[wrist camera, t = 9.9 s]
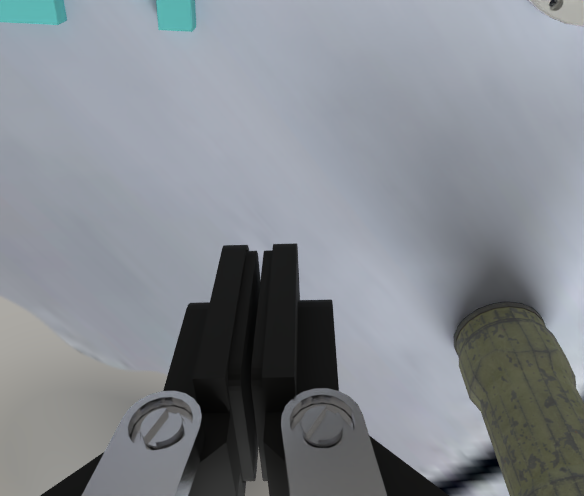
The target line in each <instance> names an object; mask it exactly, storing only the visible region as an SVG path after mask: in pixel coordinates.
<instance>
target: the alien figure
mask: <svg viewBox="0 0 584 496" xmlns="http://www.w3.org/2000/svg"><path fill="white" fill-rule="evenodd" d="M156 5H157V16H158V27H159V30H171V31H191V32H192V31H193V30H194V29H195V28H196V13H195V0H156ZM65 21H67V17H66V12H65V6H64V1H63V0H0V22H10V23H31V24H51V25H59V24H61V23H63V22H65Z"/></svg>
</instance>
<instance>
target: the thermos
mask: <svg viewBox="0 0 584 496" xmlns="http://www.w3.org/2000/svg"><path fill="white" fill-rule="evenodd" d="M454 347H455V350H456V352H457V354H458V357H459V368H460V371H461V374H462V377H463V380H464V383H465V386H466V389H467V392H468V395H469V398H470V400H471V401H472V402H473V403H474V404H475V405H476V406H477V408H478V409H479V410H480V411H481V413H482V416H483V419H484V422H485V425H486V428H487V431H488V434H489V436H490V439H491V442H492V445H493V448H494V451H495V454H496V457H497V460H498V462H499V465H500V468H501V471H502V474H503V477H504V480H505V483H506V486H507V489H508V491H509V494H510V496H584V402H583V400H582V398H581V396H580V395H579V393H578V391H577V389H576V381H575V375H574V373H573V371H572V368H571V366H570V364H569V362H568V360H567V358H566V356H565V354H564V352H563V350H562V349H561V347H560V345H559V344H558V342H557V340H556V338H555V337H554V335H553V334H552V333H551V332H550V331H549V330H548V329H547V328H546V326H545V324H544V321H543V319H542V317H541V316H540V315H539V314H538V313H537V312H536V311H535V310H534V309H533V308H531V307H528V306H526V305H524V304H521V303H512V302H503V303H495V304H491V305H488V306H485V307H482V308H480V309H478V310H476V311H474V312H473V313H471V314H470V315H468V316H467V317H466V318H465V319H464V320H463V321H462V323H461V324H460V325H459V326H458V328H457V330H456V333H455V335H454Z"/></svg>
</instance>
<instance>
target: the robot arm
mask: <svg viewBox="0 0 584 496" xmlns="http://www.w3.org/2000/svg"><path fill="white" fill-rule="evenodd" d="M528 1H529V2H530V3H531V4H533V5H534V6H535V7H536V8H537V9H538V10H539V11H541V12H542V13H544V14H546V15H547V16H549V17H551V18H553V19H555V20H558V21H560V22H563V23H565V24H570V25H576V26H582V27H584V0H554V3H553V4H552V5H550V6H549V3H550V1H551V0H528ZM258 446H259V453H260V461H261V468H262V477H263V481H268V486H269V495H270V496H449V495H447V494H446V493H445V492H443V491H442V490H441V489H439V488H438V487H437V486H435V485H434V484H433V483H431V482H430V481H429V480H427V479H426V478H425V477H423V476H422V475H421V474H419V473H418V472H417V471H415V470H414V469H413V468H412V467H410V466H409V465H408V464H406V463H405V462H404V461H402V460H401V459H400V458H398V457H397V456H396V455H394V454H393V453H392V452H390V451H389V450H388V449H386V448H385V447H384V446H382V445H381V444H380V443H378V442H377V441H376V440H374V439H373V438H372V437H370V436H369V434H368V430H367V427H366V424H365V420H364V417H363V414H362V412H361V410H360V408H359V406H358V404H357V403H356V402H355V401H354V400H353V399H351V398H350V397H349V396H347V395H346V394H344V393H342V392H340V391H339V387H338V373H337V360H336V346H335V332H334V318H333V305H332V300H300V292H299V270H298V248H297V244H273V251H264V255H263V264H262V273H261V282H260V272H259V261H258V253H257V251H249V248H248V245H227V246H223V248H222V252H221V257H220V261H219V265H218V270H217V274H216V278H215V283H214V287H213V291H212V296H211V300H210V303H190V304H189V305H188V307H187V309H186V313H185V316H184V320H183V323H182V327H181V331H180V334H179V338H178V341H177V345H176V348H175V352H174V355H173V359H172V362H171V366H170V369H169V373H168V376H167V380H166V384H165V387H164V391H161V392H158V393H154V394H150V395H148V396H146V397H145V398H142V399H140V400H139V401H138V402H136V403H135V404H134V405H133V406H132V407H130V408H129V410H128V411H127V413H126V414H125V415H124V417H123V418H122V420H121V422H120V424H119V426H118V428H117V429H116V431H115V433H114V435H113V437H112V439H111V441H110V443H109V445H108V447H107V449H106V450H105V452H104V453H102V454H101V455H99V456H98V457H96V458H95V459H93V460H92V461H90V462H89V463H87V464H86V465H85V466H83V467H82V468H80V469H79V470H77V471H76V472H75V473H73V474H71V475H70V476H68V477H67V478H65V479H64V480H62V481H61V482H60V483H58V484H57V485H55V486H54V487H52V488H51V489H49V490H48V491H46V492H45V493H44V494H42V495H41V496H245V486H246V481H255V478H256V469H257V457H258Z"/></svg>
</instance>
